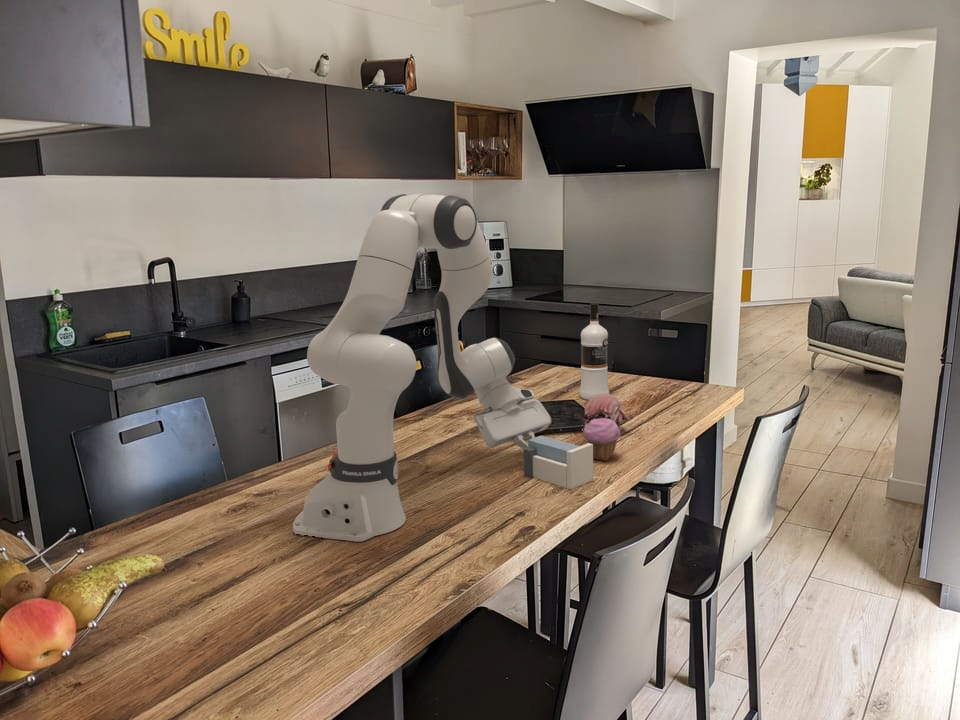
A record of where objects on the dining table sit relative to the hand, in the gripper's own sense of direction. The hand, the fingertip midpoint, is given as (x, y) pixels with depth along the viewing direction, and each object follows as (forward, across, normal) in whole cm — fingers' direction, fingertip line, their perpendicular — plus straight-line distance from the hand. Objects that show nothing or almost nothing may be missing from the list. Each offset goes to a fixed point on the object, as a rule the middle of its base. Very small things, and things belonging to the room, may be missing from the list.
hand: (532, 451), depth 184 cm
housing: (+9, 0, -3) cm, 10 cm away
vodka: (-18, +61, +24) cm, 68 cm away
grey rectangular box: (+8, 0, -2) cm, 8 cm away
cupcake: (+8, +17, -2) cm, 19 cm away
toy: (0, +34, +6) cm, 34 cm away
